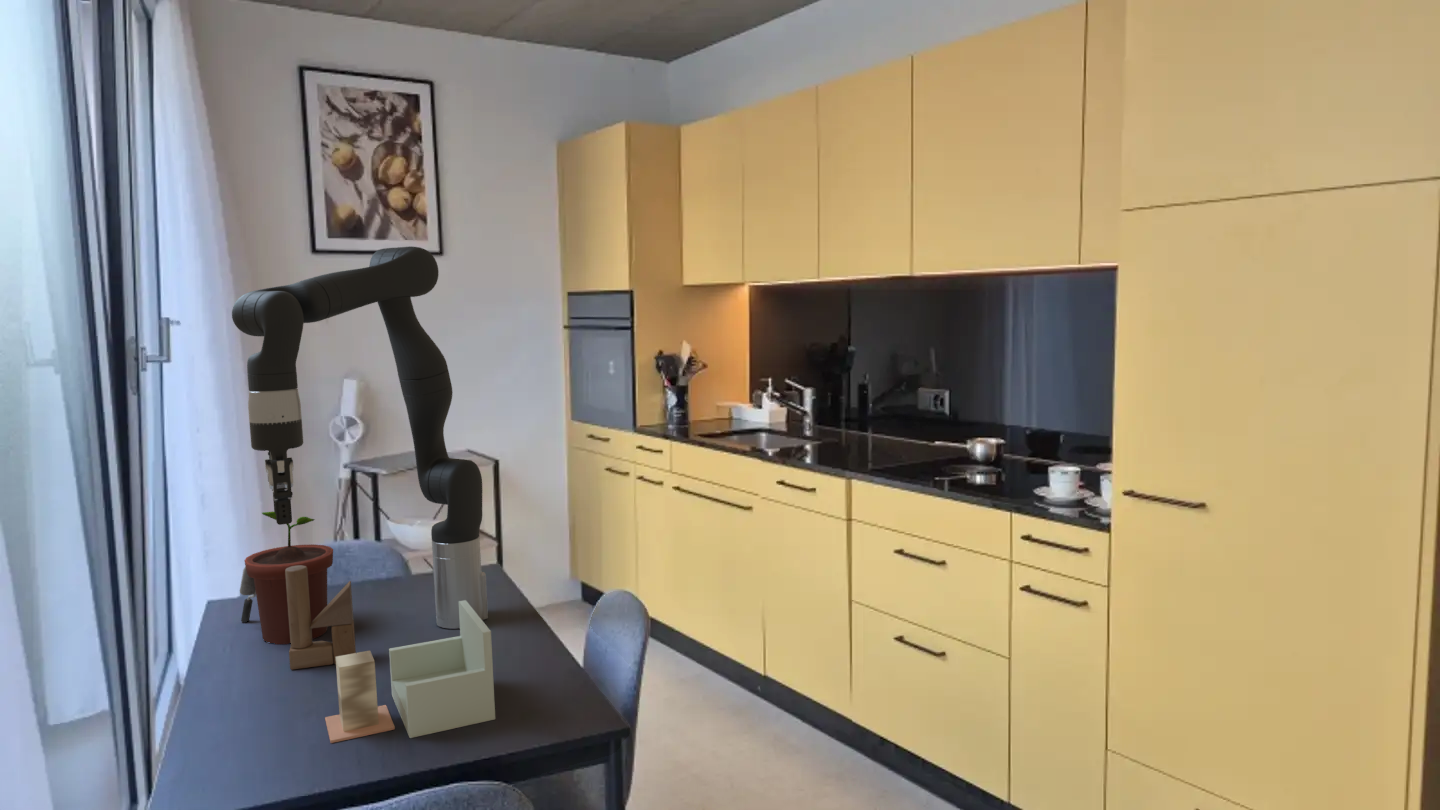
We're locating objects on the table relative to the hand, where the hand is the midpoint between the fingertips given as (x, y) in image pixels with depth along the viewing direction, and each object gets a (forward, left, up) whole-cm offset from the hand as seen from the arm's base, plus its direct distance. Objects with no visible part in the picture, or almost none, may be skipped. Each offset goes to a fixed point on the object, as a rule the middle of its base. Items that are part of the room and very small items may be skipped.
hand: (283, 518), depth 151 cm
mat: (-2, +17, -30) cm, 35 cm away
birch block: (-2, +17, -30) cm, 34 cm away
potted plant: (-14, -34, -30) cm, 48 cm away
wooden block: (-10, -12, -30) cm, 34 cm away
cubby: (-14, +21, -30) cm, 39 cm away
